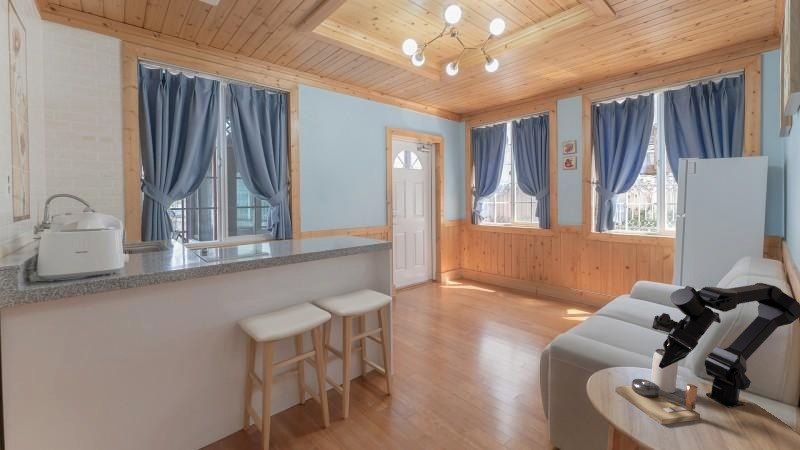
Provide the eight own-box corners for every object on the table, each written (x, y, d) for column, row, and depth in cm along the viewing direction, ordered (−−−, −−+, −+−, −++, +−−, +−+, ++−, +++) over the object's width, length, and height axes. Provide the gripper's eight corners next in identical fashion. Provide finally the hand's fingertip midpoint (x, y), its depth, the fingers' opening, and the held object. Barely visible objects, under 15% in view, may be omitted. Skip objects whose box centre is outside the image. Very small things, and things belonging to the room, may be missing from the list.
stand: (649, 387, 115) (649, 382, 115) (699, 419, 100) (700, 413, 100) (615, 391, 113) (615, 386, 112) (661, 424, 97) (662, 418, 97)
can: (679, 395, 111) (683, 358, 110) (656, 392, 113) (660, 356, 111) (668, 383, 118) (672, 349, 116) (646, 381, 119) (650, 347, 118)
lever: (628, 389, 111) (630, 368, 110) (637, 382, 115) (639, 361, 114) (690, 416, 98) (693, 392, 97) (698, 407, 102) (701, 384, 102)
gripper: (662, 314, 116) (632, 351, 116) (668, 298, 102) (634, 340, 101) (701, 337, 109) (669, 376, 108) (713, 324, 95) (677, 369, 94)
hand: (661, 365), depth 103 cm, fingers open, 9 cm apart
